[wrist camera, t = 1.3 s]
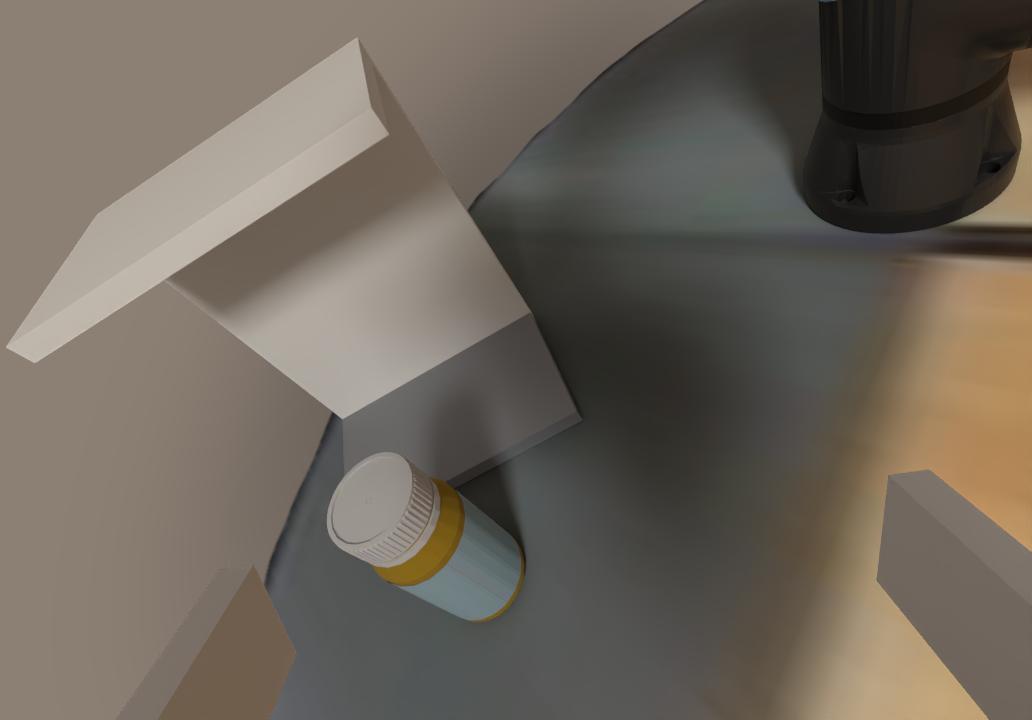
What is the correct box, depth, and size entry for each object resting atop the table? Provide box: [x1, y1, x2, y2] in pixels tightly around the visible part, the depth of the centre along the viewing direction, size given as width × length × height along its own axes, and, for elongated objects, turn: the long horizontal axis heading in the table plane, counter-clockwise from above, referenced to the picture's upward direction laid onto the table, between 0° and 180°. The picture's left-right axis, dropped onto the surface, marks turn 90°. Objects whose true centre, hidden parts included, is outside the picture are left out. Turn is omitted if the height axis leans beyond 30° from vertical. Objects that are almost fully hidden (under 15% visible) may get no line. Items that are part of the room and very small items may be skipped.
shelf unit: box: [6, 37, 583, 488], centre depth 43 cm, size 16×24×30 cm, turn 107°
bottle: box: [327, 452, 524, 622], centre depth 36 cm, size 7×7×15 cm
